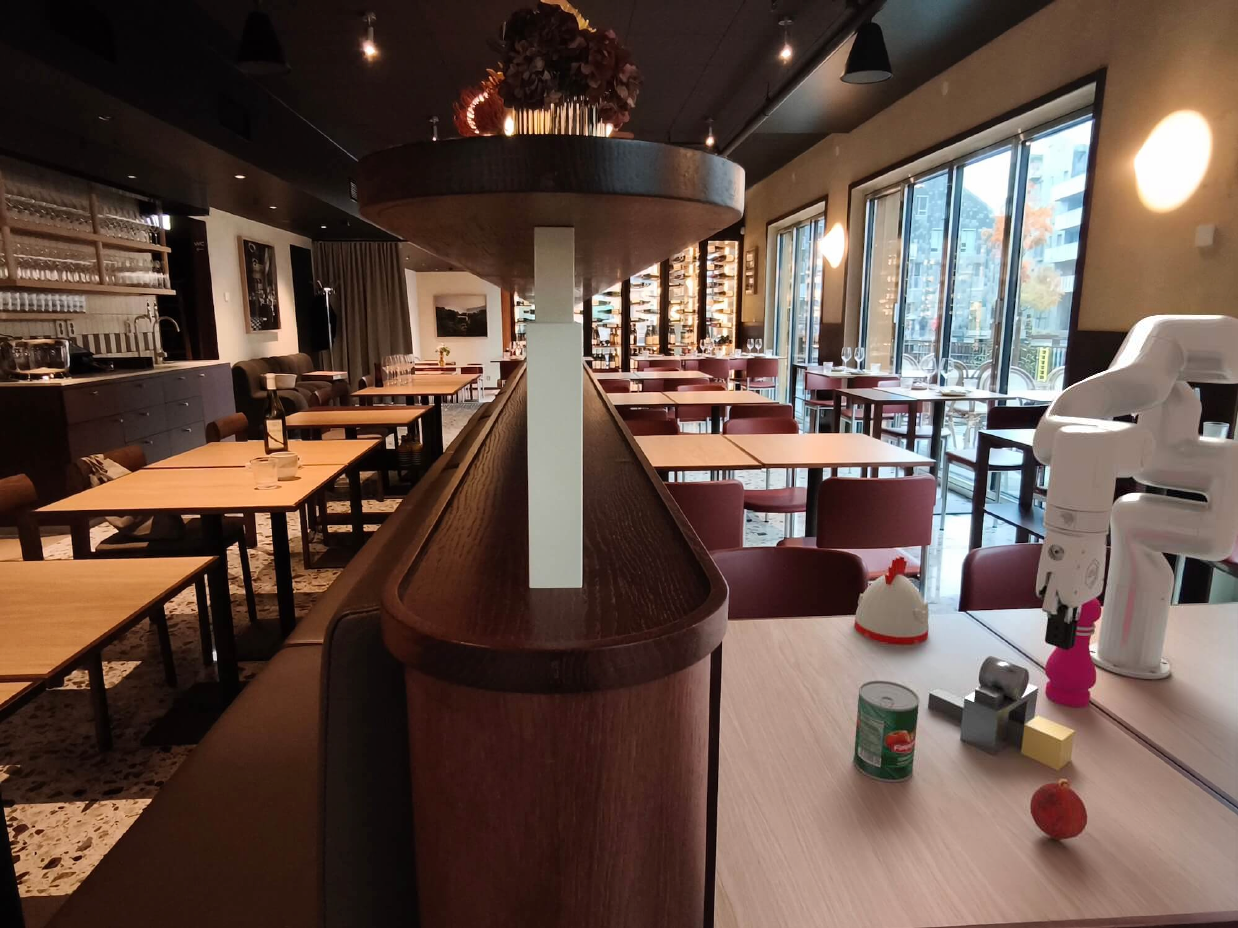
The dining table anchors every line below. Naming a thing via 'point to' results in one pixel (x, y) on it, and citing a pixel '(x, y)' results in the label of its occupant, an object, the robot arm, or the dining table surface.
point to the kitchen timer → (893, 609)
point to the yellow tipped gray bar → (1019, 732)
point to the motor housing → (997, 704)
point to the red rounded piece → (1058, 810)
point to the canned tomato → (886, 730)
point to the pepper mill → (1074, 663)
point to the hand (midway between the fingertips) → (1059, 644)
